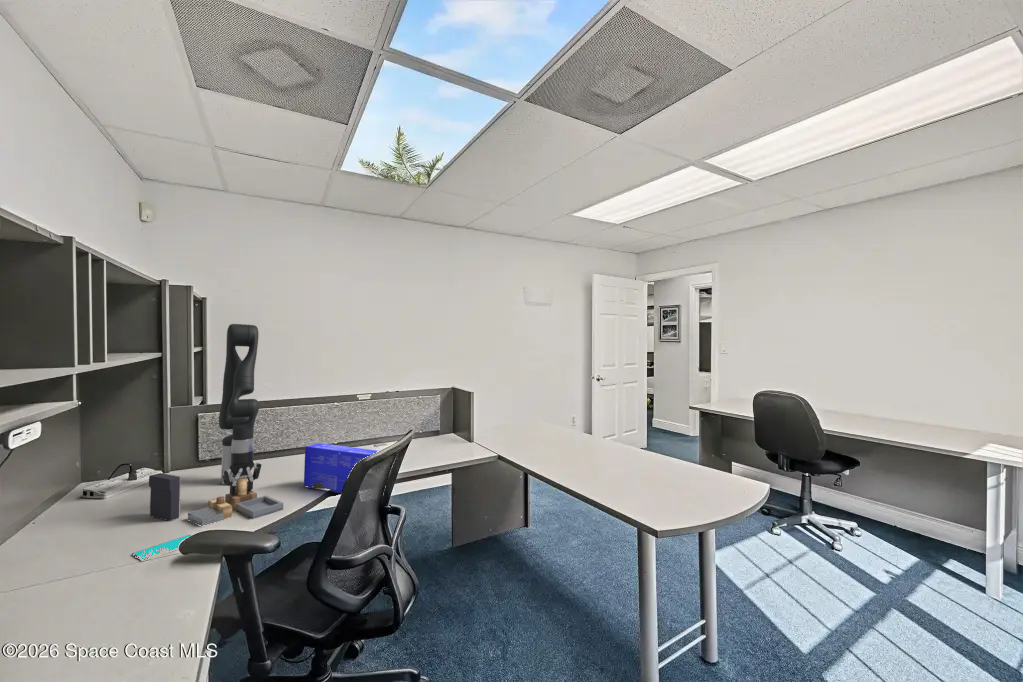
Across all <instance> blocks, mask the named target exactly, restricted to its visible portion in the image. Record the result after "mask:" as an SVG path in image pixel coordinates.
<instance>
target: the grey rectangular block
mask: <svg viewBox="0 0 1023 682" xmlns="http://www.w3.org/2000/svg"><path fill="white" fill-rule="evenodd" d="M188 520H190V521H189V522H191V521H192V522H191V523H193V522H194V523H193V524H195V523H197V524H199V525H201V526H203V525H206V526H208V525H207V524H209V525H211V524H210V523H212V524H215V523H214V522H216V523H219V522H221V520H222V521H224V520H225V519H224V512H221V511H219V510H217V509H214V508H212V507H208V506H207V507H203V508H199V509H197V510H192V511H189V512H188V513H187V521H188ZM218 521H219V522H218ZM197 524H196V525H197ZM199 525H198V526H199ZM201 526H200V527H201ZM203 527H204V526H203Z"/></svg>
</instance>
